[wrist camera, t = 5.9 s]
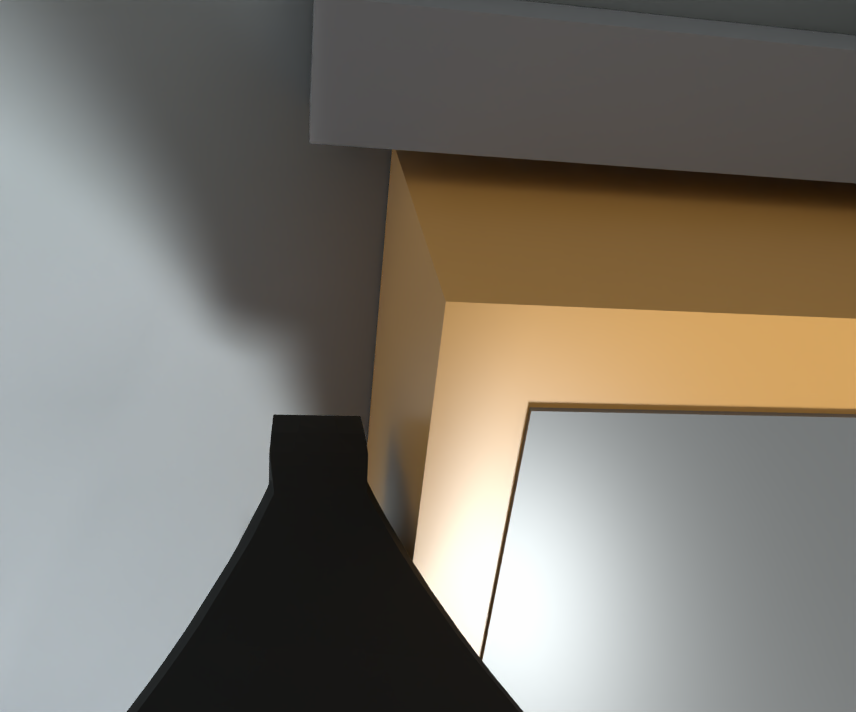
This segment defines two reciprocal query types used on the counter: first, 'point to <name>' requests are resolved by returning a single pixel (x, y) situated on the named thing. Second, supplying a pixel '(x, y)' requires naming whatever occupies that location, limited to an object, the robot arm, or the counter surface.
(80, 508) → the counter surface
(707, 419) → the orange square frame
